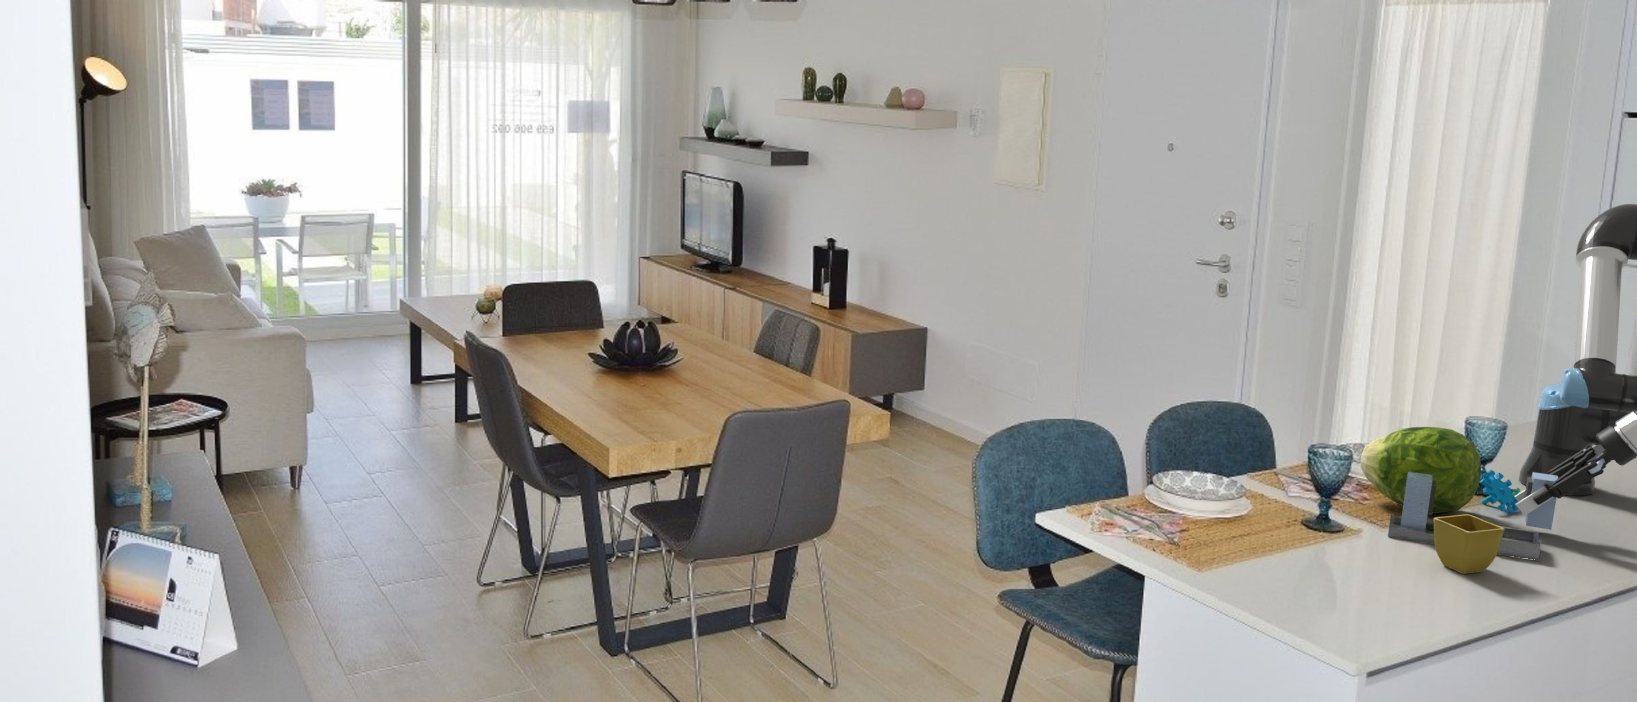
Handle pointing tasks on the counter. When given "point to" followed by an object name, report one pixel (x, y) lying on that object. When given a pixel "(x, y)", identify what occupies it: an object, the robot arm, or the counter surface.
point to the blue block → (1545, 512)
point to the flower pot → (1466, 542)
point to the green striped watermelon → (1424, 464)
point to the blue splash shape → (1499, 491)
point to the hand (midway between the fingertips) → (1519, 505)
